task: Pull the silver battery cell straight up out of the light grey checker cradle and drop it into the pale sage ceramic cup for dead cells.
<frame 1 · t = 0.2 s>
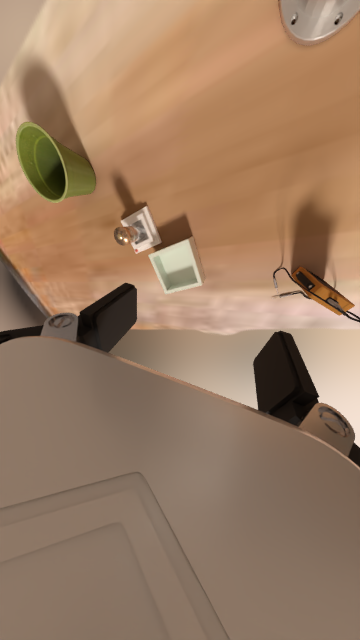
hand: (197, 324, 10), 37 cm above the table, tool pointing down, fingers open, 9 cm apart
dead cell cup: (180, 265, 46), on the table
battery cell: (140, 232, 43), point 1 cm above the table, touching checker cradle
checker cradle: (142, 231, 44), on the table
plant pot: (84, 176, 41), on the table
multimeter: (294, 288, 41), on the table
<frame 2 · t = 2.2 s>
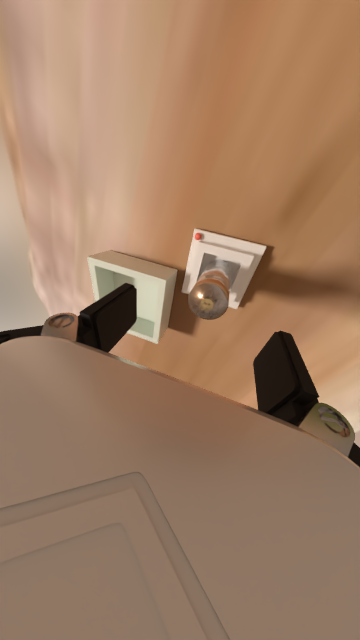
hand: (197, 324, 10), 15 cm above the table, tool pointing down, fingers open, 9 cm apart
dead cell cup: (141, 292, 28), on the table
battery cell: (217, 272, 22), point 1 cm above the table, touching checker cradle
checker cradle: (218, 270, 22), on the table
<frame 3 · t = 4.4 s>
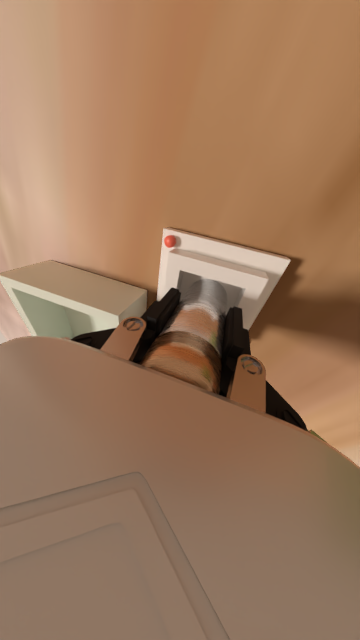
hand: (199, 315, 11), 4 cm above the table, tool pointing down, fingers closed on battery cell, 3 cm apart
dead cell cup: (103, 317, 20), on the table
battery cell: (205, 299, 13), point 1 cm above the table, touching checker cradle, gripper
checker cradle: (207, 294, 14), on the table
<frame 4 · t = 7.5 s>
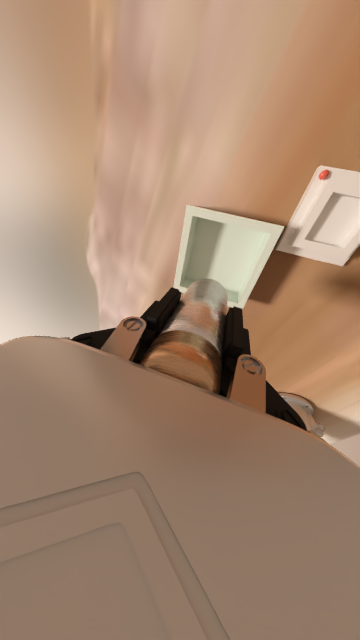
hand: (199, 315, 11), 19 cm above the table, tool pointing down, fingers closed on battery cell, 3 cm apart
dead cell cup: (220, 256, 26), on the table
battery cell: (206, 298, 13), point 16 cm above the table, touching gripper
checker cradle: (329, 221, 20), on the table
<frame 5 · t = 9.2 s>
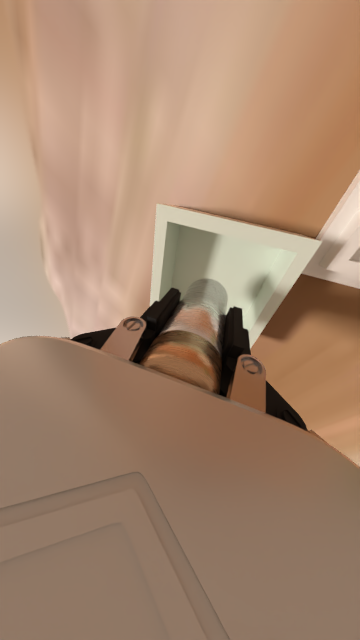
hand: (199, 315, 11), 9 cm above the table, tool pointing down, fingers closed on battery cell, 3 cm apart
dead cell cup: (215, 277, 19), on the table
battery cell: (206, 298, 13), point 6 cm above the table, touching gripper
when the fingers open (6 cm above the table, at t = 10.6 s): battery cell drops 2 cm, resting on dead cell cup.
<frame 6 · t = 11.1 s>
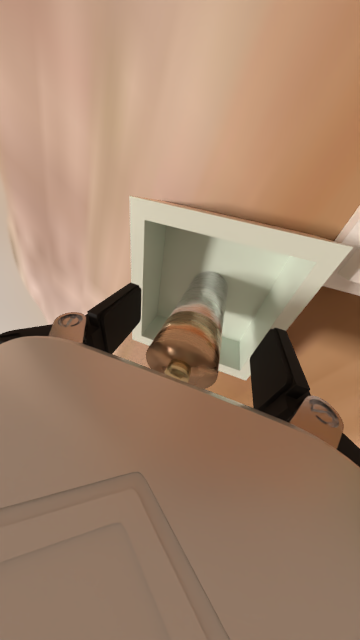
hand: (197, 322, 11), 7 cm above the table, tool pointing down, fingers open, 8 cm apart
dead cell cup: (210, 286, 16), on the table
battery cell: (208, 289, 15), point 1 cm above the table, touching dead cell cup
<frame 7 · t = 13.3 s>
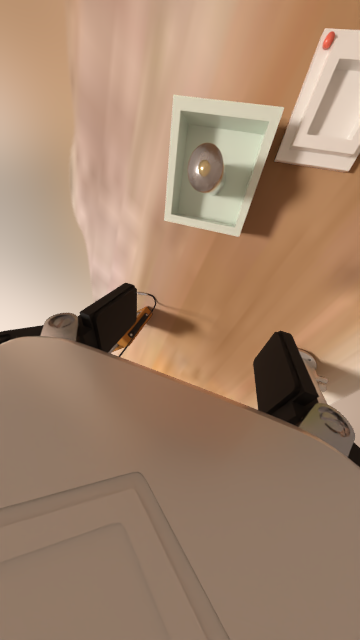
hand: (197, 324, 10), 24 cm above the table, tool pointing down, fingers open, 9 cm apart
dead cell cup: (214, 180, 24), on the table
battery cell: (213, 180, 23), point 1 cm above the table, touching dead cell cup
checker cradle: (333, 113, 18), on the table
multimeter: (134, 303, 44), on the table
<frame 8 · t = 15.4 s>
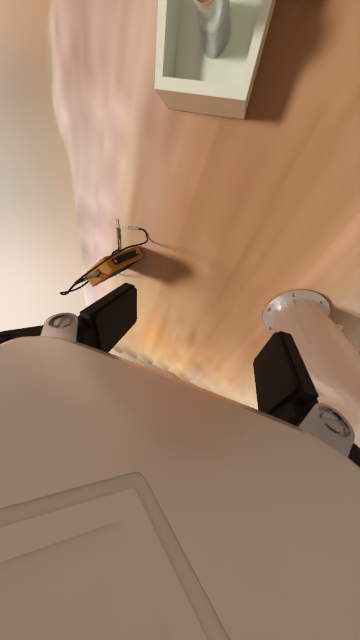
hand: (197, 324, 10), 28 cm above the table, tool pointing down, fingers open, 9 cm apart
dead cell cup: (217, 39, 20), on the table
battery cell: (215, 32, 19), point 1 cm above the table, touching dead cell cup
multimeter: (124, 244, 39), on the table
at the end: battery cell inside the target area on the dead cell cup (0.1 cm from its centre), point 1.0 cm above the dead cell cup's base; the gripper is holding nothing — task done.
